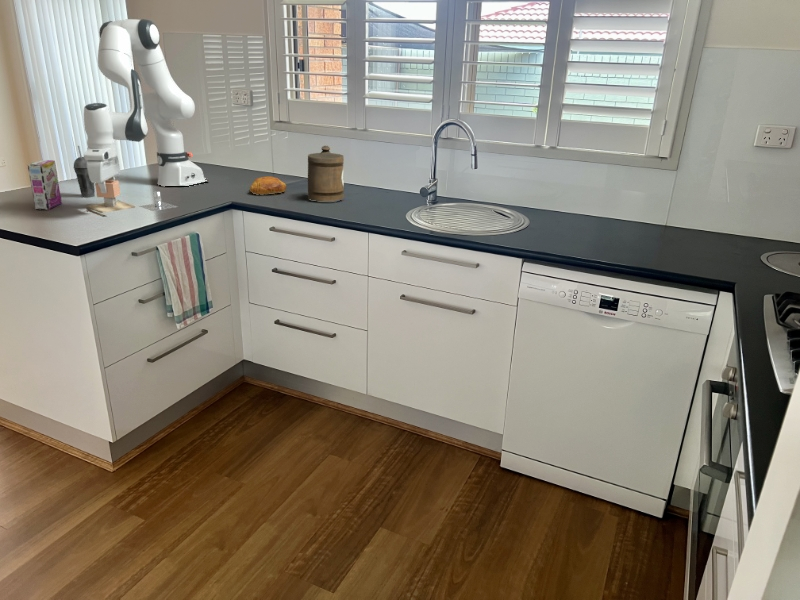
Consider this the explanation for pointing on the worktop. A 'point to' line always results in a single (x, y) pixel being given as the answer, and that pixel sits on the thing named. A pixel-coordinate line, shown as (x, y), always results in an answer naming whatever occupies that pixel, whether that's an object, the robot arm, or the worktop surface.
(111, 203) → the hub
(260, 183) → the croissant
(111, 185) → the collar
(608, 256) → the worktop surface
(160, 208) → the rod stand
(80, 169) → the beverage cup
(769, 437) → the worktop surface
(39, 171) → the candy bar box
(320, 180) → the wooden container
